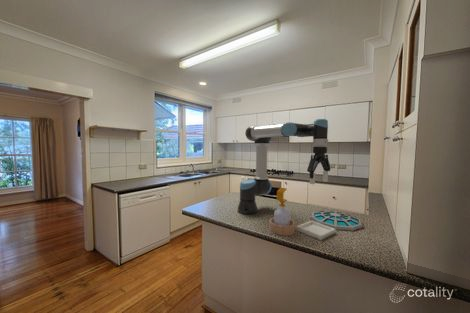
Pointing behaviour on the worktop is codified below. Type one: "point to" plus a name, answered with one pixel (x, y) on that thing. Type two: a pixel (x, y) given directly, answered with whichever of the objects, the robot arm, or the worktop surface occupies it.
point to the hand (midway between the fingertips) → (318, 182)
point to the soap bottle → (281, 210)
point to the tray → (316, 230)
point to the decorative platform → (337, 220)
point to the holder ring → (282, 228)
